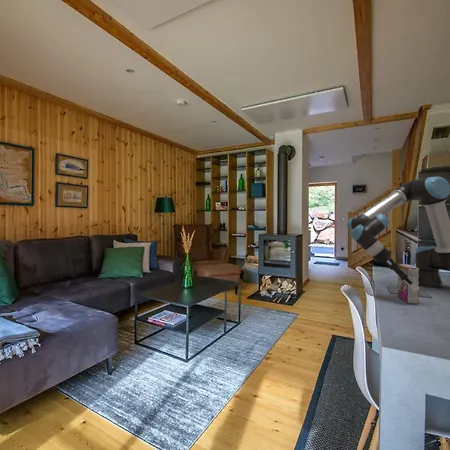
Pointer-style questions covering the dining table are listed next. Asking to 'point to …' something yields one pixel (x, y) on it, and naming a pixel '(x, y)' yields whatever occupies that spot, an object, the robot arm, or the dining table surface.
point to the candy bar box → (404, 289)
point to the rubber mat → (395, 291)
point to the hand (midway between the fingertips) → (414, 286)
